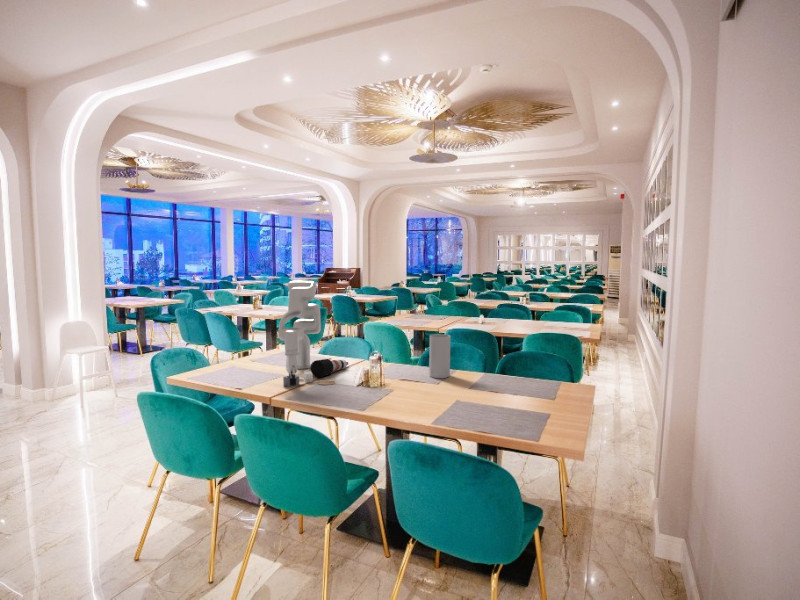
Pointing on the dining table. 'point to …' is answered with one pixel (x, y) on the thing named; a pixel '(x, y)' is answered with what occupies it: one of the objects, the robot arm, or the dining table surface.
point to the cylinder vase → (439, 356)
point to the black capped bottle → (326, 366)
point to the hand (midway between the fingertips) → (292, 383)
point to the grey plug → (287, 380)
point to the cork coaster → (326, 382)
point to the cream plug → (308, 376)
